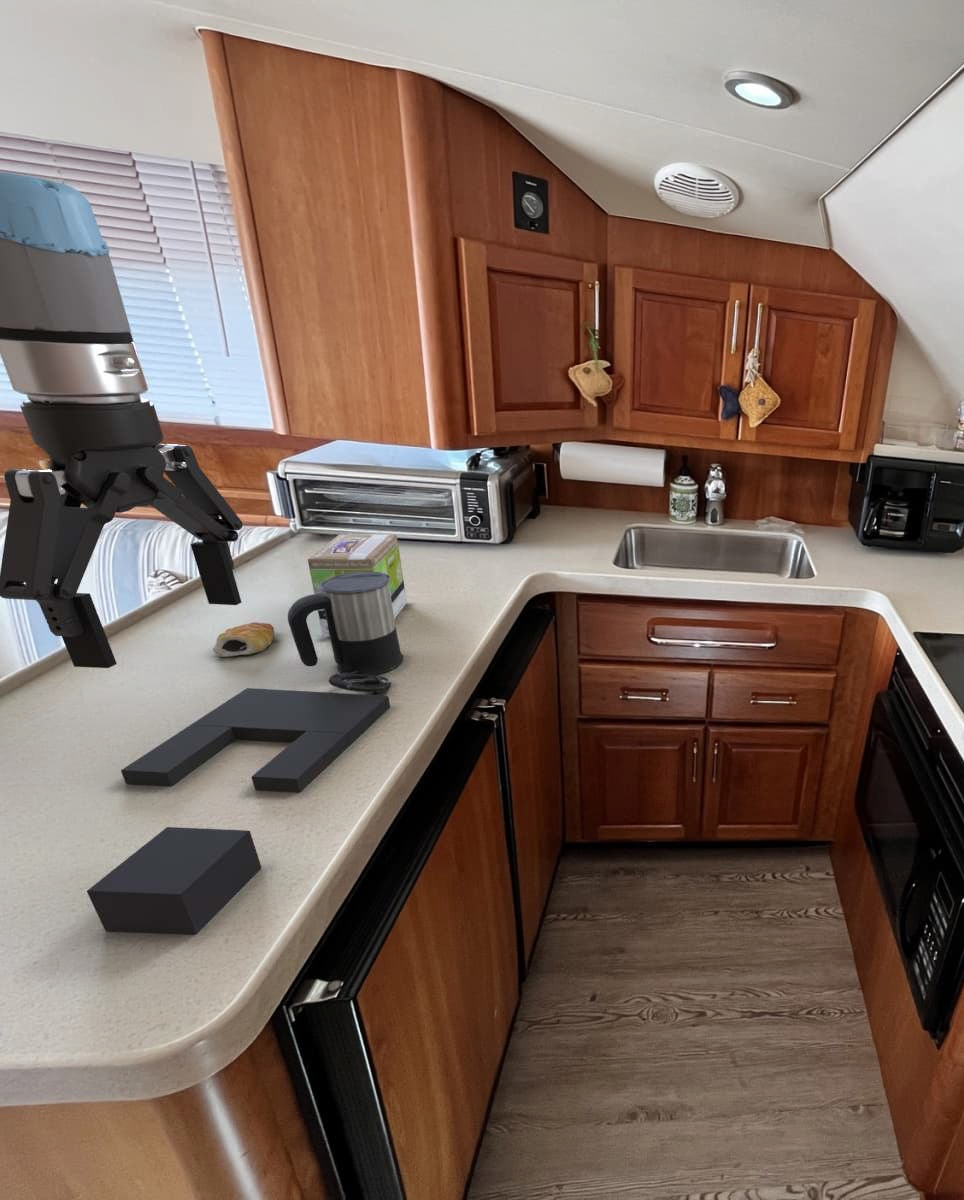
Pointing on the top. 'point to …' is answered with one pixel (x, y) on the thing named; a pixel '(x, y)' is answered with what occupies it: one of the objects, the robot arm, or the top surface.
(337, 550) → the tea box
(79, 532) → the robot arm
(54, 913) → the top surface
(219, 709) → the dark notched slab
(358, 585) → the milk frother
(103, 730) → the top surface
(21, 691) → the top surface
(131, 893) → the black block
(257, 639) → the pastry
